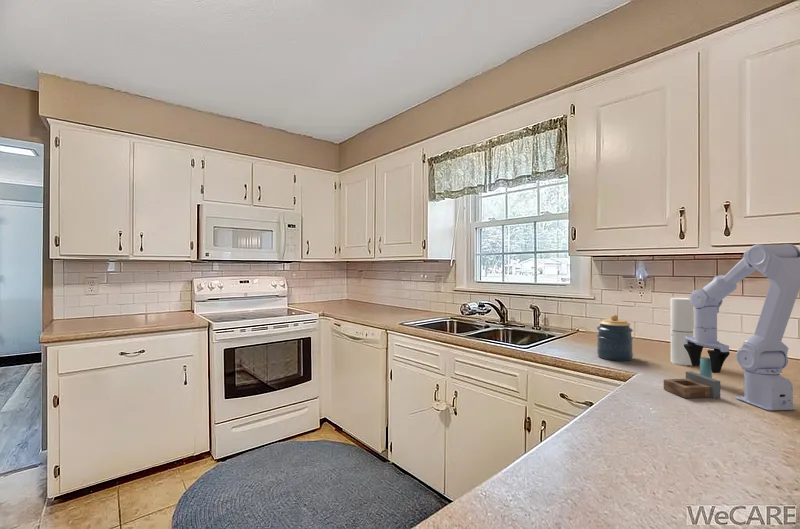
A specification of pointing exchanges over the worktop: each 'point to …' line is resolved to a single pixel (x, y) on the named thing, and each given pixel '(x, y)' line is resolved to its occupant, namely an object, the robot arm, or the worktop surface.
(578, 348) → the worktop surface
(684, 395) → the brown square frame
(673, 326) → the cylindrical container
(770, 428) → the worktop surface
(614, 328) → the canister
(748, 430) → the worktop surface
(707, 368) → the dowel
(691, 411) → the worktop surface
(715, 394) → the board
